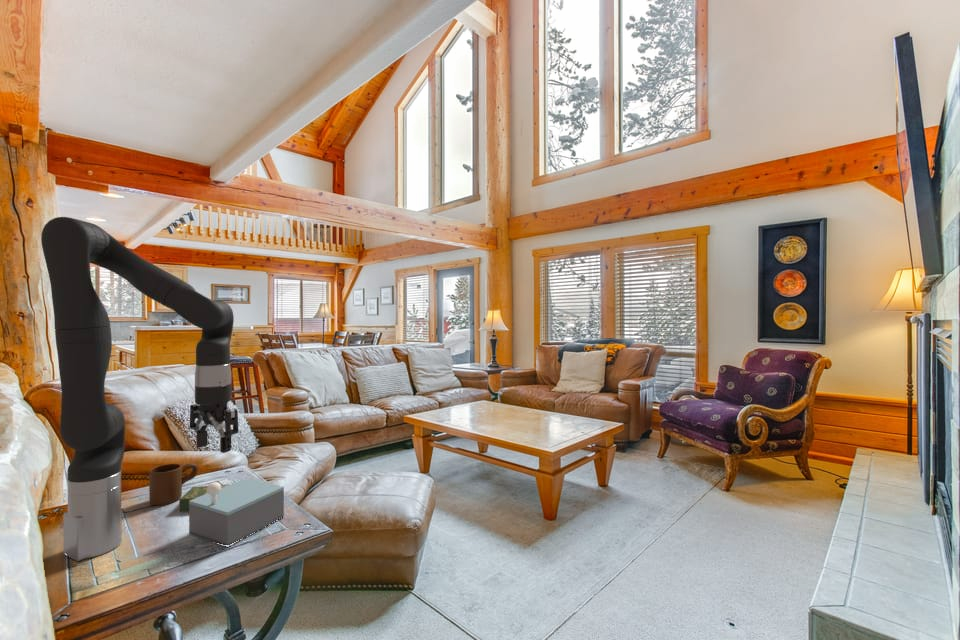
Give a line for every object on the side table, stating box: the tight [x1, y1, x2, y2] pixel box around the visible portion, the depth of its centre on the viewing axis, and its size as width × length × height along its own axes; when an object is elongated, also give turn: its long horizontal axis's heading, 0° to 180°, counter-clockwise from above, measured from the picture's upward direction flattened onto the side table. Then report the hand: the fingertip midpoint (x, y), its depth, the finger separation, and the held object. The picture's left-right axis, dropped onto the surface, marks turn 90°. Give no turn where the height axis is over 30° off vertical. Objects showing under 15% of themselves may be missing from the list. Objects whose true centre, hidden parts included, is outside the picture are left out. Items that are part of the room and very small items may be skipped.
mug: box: [148, 462, 199, 506], centre depth 126 cm, size 12×8×9 cm, turn 139°
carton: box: [178, 484, 230, 513], centre depth 123 cm, size 8×16×4 cm, turn 102°
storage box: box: [188, 489, 285, 545], centre depth 110 cm, size 16×14×8 cm
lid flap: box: [189, 477, 285, 516], centre depth 110 cm, size 16×14×6 cm
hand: (213, 449), depth 104 cm, fingers open, 8 cm apart
